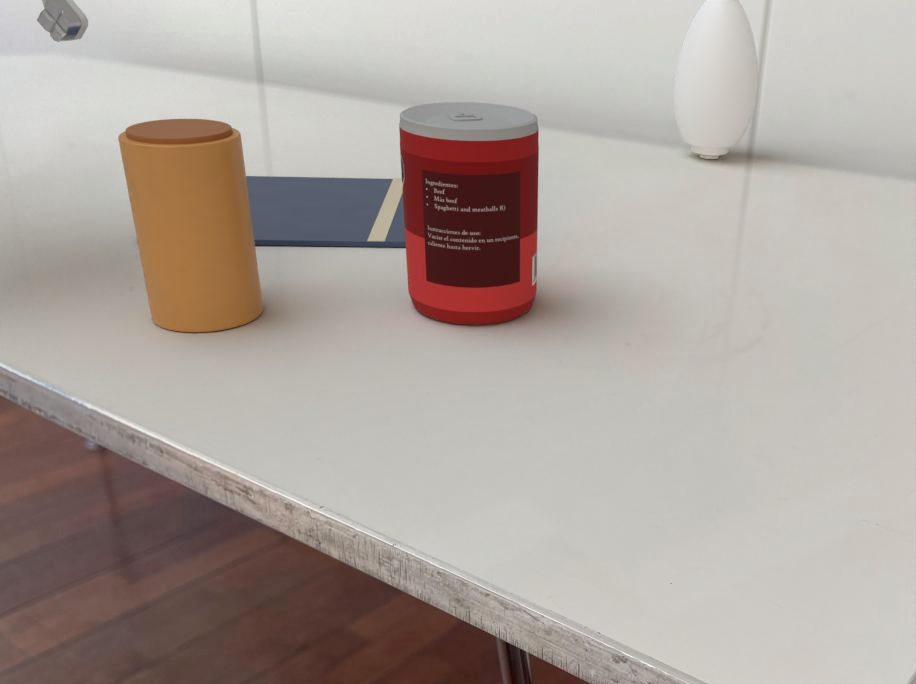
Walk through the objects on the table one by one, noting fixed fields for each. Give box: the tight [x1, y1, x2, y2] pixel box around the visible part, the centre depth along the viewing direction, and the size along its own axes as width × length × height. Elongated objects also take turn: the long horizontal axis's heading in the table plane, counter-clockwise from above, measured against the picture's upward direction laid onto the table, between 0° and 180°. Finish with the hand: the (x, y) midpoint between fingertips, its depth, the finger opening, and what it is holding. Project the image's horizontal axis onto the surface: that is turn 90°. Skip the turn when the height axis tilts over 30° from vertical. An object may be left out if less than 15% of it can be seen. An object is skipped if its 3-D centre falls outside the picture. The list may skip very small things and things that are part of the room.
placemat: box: [136, 175, 406, 248], centre depth 76 cm, size 18×18×1 cm
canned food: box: [398, 101, 540, 326], centre depth 58 cm, size 8×8×11 cm
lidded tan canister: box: [117, 118, 264, 333], centre depth 55 cm, size 6×6×10 cm
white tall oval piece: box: [672, 0, 759, 160], centre depth 95 cm, size 8×8×18 cm
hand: (3, 41), depth 53 cm, fingers open, 8 cm apart
